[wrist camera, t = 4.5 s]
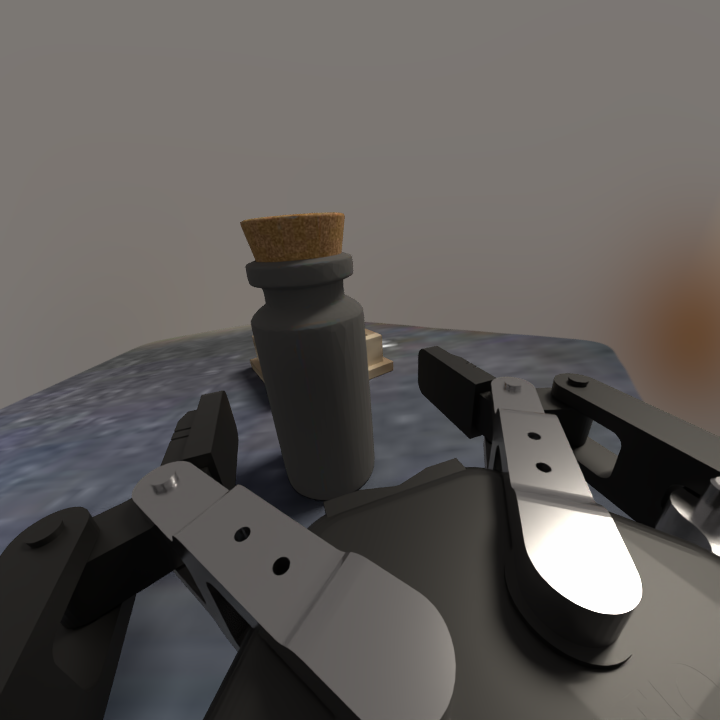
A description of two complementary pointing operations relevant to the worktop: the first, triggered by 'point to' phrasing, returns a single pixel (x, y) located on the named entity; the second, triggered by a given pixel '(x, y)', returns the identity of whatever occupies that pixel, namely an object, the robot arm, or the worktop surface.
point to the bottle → (312, 352)
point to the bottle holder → (374, 356)
